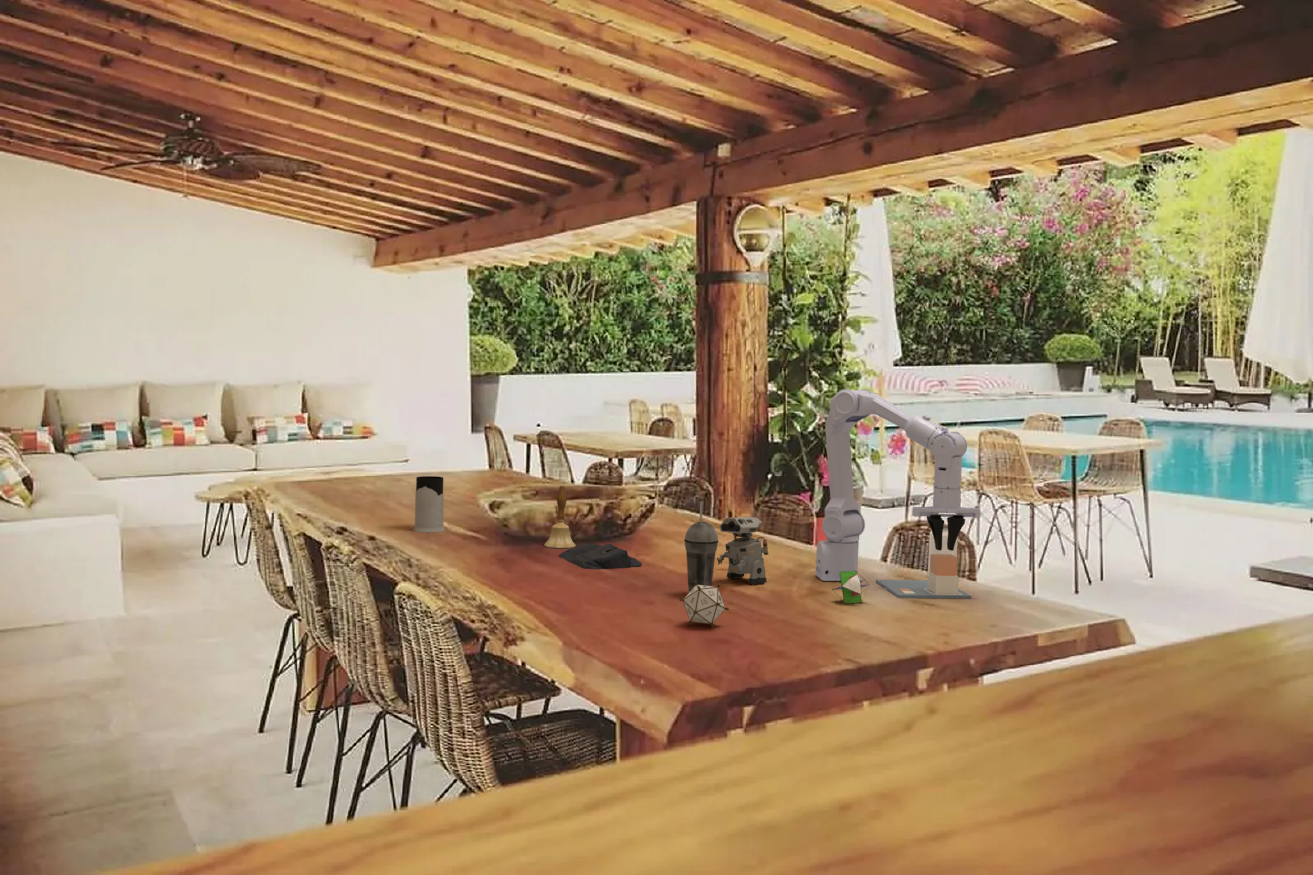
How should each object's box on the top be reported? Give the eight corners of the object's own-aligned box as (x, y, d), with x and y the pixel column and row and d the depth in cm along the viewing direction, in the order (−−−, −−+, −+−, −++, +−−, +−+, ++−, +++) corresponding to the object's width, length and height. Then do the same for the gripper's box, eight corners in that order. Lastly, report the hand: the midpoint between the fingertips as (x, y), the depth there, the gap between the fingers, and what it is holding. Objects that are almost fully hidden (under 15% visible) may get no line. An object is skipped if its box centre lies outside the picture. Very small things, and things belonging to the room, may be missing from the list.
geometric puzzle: (823, 588, 249) (836, 562, 245) (850, 586, 252) (864, 560, 247) (836, 613, 244) (850, 587, 240) (864, 611, 247) (878, 586, 242)
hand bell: (558, 542, 316) (559, 483, 315) (582, 546, 311) (583, 486, 310) (537, 546, 309) (539, 485, 308) (561, 549, 304) (563, 488, 303)
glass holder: (408, 531, 328) (409, 478, 327) (426, 525, 342) (427, 473, 341) (438, 533, 327) (439, 479, 326) (455, 526, 341) (456, 475, 340)
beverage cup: (720, 593, 251) (723, 500, 250) (711, 599, 245) (714, 504, 243) (688, 590, 254) (691, 498, 253) (678, 596, 247) (680, 501, 246)
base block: (935, 594, 254) (936, 575, 254) (927, 589, 259) (928, 571, 259) (957, 594, 255) (958, 576, 255) (949, 589, 260) (950, 571, 260)
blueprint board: (898, 597, 252) (899, 594, 252) (875, 582, 270) (875, 579, 270) (971, 598, 254) (971, 595, 254) (943, 582, 272) (943, 579, 271)
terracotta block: (936, 575, 255) (937, 557, 254) (929, 571, 259) (930, 553, 259) (956, 575, 255) (957, 557, 255) (949, 572, 259) (950, 554, 259)
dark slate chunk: (610, 554, 301) (611, 536, 301) (645, 569, 281) (646, 549, 281) (554, 557, 295) (554, 538, 295) (585, 572, 275) (586, 552, 275)
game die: (693, 643, 221) (675, 595, 226) (735, 627, 222) (717, 580, 226) (689, 629, 213) (671, 580, 218) (733, 613, 214) (714, 564, 218)
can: (956, 580, 275) (958, 530, 274) (928, 579, 276) (930, 528, 275) (955, 576, 281) (957, 526, 280) (927, 574, 282) (929, 524, 282)
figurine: (707, 581, 265) (709, 515, 264) (745, 577, 272) (747, 512, 271) (732, 588, 258) (735, 520, 257) (772, 583, 265) (774, 517, 264)
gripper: (920, 489, 251) (917, 552, 252) (986, 490, 252) (983, 553, 253) (910, 485, 258) (907, 547, 259) (974, 487, 259) (971, 548, 260)
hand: (944, 549), depth 257 cm, fingers closed
